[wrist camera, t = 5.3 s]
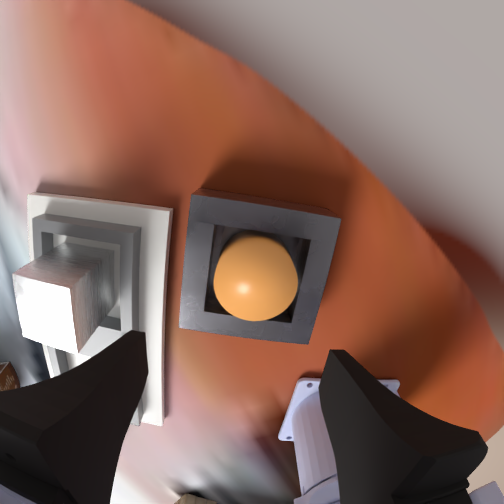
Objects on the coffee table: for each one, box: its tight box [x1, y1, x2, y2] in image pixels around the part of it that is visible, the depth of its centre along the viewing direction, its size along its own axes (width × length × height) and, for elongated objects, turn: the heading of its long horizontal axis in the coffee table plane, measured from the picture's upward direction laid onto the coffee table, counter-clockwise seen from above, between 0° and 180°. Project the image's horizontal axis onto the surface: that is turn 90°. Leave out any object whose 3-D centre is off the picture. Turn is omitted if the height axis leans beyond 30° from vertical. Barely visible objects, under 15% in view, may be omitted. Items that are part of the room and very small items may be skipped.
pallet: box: [27, 192, 173, 426], centre depth 20 cm, size 11×19×2 cm, turn 171°
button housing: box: [179, 188, 341, 344], centre depth 19 cm, size 8×8×3 cm
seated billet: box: [12, 242, 115, 354], centre depth 16 cm, size 4×4×6 cm
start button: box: [214, 230, 298, 321], centre depth 18 cm, size 4×4×3 cm
